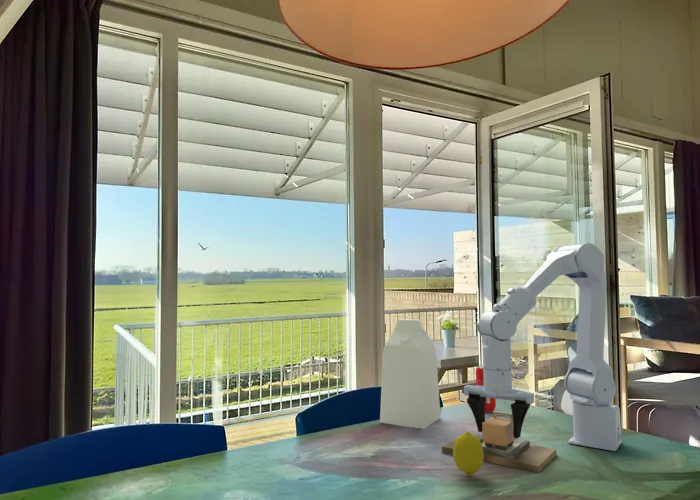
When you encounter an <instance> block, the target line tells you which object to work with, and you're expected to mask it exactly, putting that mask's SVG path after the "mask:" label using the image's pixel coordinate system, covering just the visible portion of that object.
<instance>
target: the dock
mask: <svg viewBox="0 0 700 500" xmlns="http://www.w3.org/2000/svg"><path fill="white" fill-rule="evenodd" d="M465 433H466V432H464V433H463V434H465ZM472 434H473V435H475V436H476V437H477V438H478V439H479V440H480V442H481V444H482V447H483V452H484V460H483V462H486V463H491V464H496V465H500V466H504V467H505V466H506V467H510V468H515V469H518V470H519V469H520V470H523V471H529V472H532V473H533V472H534V473H540V472H541V471H542V470H544V468H545V467H546V466H547V465H548V464H549V463H550V462H552V461H553V459H554V458H555V457H556V456H557V449H556V448H552V447H546V446H540V445H536V444H531V441H530V440H523V441H522V442H520V441H519V442H518V441H514V443H513V445H507V448H506V450H500V449H499V445H495V444H493V445H492V447H491V448H489V447H486V446H485V443H484V442H483V434H481V435H479V434H475V433H472ZM458 437H459V436H458ZM458 437H456V438H454V439H452V440H451V441H449V442H447V443H445V444H444V445H442V446H441V453H444V454H449V455H453V448H454V444H455V441H456V439H457V438H458Z"/></svg>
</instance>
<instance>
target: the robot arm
mask: <svg viewBox="0 0 700 500" xmlns="http://www.w3.org/2000/svg"><path fill="white" fill-rule="evenodd" d="M604 266H605V254H604V253H603V252H602V251H601V250H600V248H598V246H596V245H595V244H594V243H591V242H587V243H582V244H573V245H559V246H557V247H556V248H554V249H553V250H552V252H550V253H548V255H547V257H546V260H545V261H544V262H543V263H542V264H541V266H539V268H538V269H537V270H536V271H535V272H534V273H533V274H532V276H531V277H530V278H529V279H528V280H527V281H526V283H525V284H524V285H523V286H514V287H510V288H508V289H507V290H506V293H507V294H506V295H504V297H503V298H502V299H501V300H500V301H499V302H498V303H495V304H493V306H492V310H488V311H485V312H483V313H482V314H481V316H480V318H479V320H478V323H476V329H477V331H478V333H479V334H480V336H481V342H482V362H483V363H482V365H483V374H484V386H476V385H473V384H472V385H471V384H466V385H465V386H463V396H466V397H467V396H468V397H467V398H466V403H467V404H468V406H469V408H470V410H471V412H472V414H473V417H474V420H475V423H476V427H477V432H478V433H482V422H484V421H486V414H485V413H486V412H485V403H486V397H487V398H495V399H496V400H501V401H502V400H504V401H511V402H513V403H511V404H510V409H511V413H512V415H513V435H514V438H515V440H516V439H519V438H520V437H521V433H522V427H523V423H524V421H525V419H526V415H527V413H528V410H529V408H531V407H530V406H531V405H532V404H534V403H535V393H534V392H530V391H525V390H520V389H519V390H518V389H515V388H513V387H512V386H513V383H512V380H513V379H512V348H511V345H512V344H511V343H512V342H511V341H512V340H511V338H512V337H515V334H516V333H517V326H518V324H520V321H521V320H523V318H525V316H526V315H527V314H528V313H530V311H531V310H532V309H533V308H535V306H536V297H538V295H540V294H541V293H542V292H543V291H544V290H545V289H547V288H548V286H550V285H551V284H552V283H554V281H556V280H557V278H559V277H560V276H565V277H566V278H569V279H571V280H572V281H573V282H574V283H575V284H576V286H577V287H578V288H579V295H578V296H579V297H578V313H577V314H578V315H577V316H578V317H577V335H576V336H577V337H576V338H577V339H576V354H575V355H576V356H574V358H573V359H572V360H571V361H569V362H568V368H567V372H566V374H565V376H564V380H563V381H564V382H563V384H564V388H565V390H566V392H567V393H568V394H569V395H570V398H569V399H571V400H572V402H571V403H572V425H573V436H572V437H570V438H569V440H568V441H567V443H568V444H571V445H577V446H583V447H589V448H595V449H602V450H606V451H611V452H612V451H613V452H616V451H617V450H618V448H619V447H620V445H621V444H622V443H623V440H622V425H621V423H622V422H621V419H622V418H621V409H620V406H619V405H617V404H612V403H611V402H612V400H614V398H615V395H616V391H617V388H616V387H617V385H616V383H615V380H614V370H613V368H612V367H611V366H610V365H609V364H608V362H606V360H605V359H604V354H605V351H604V350H605V332H606V330H605V327H606V303H607V285H608V284H607V277H606V273H605V267H604Z"/></svg>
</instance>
